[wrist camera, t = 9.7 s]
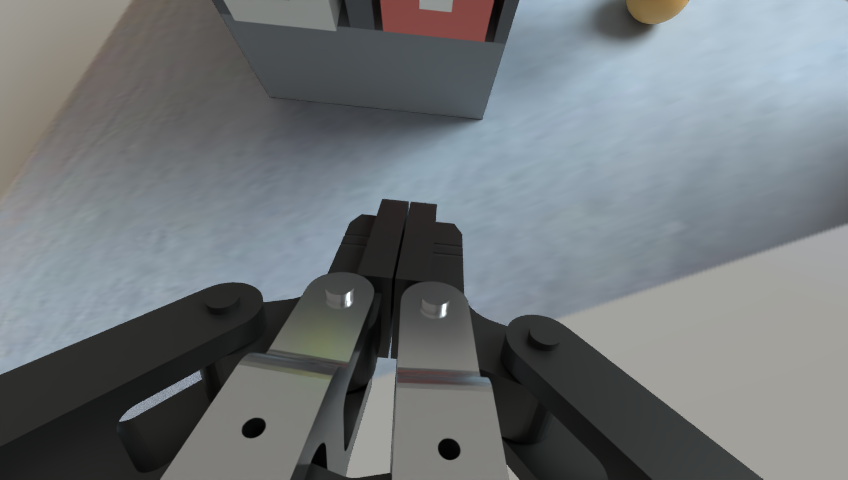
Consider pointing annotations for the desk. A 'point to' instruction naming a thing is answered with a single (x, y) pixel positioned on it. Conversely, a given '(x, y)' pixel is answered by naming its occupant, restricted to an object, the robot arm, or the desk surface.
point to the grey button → (288, 12)
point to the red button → (438, 18)
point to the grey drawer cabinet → (375, 62)
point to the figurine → (655, 9)
